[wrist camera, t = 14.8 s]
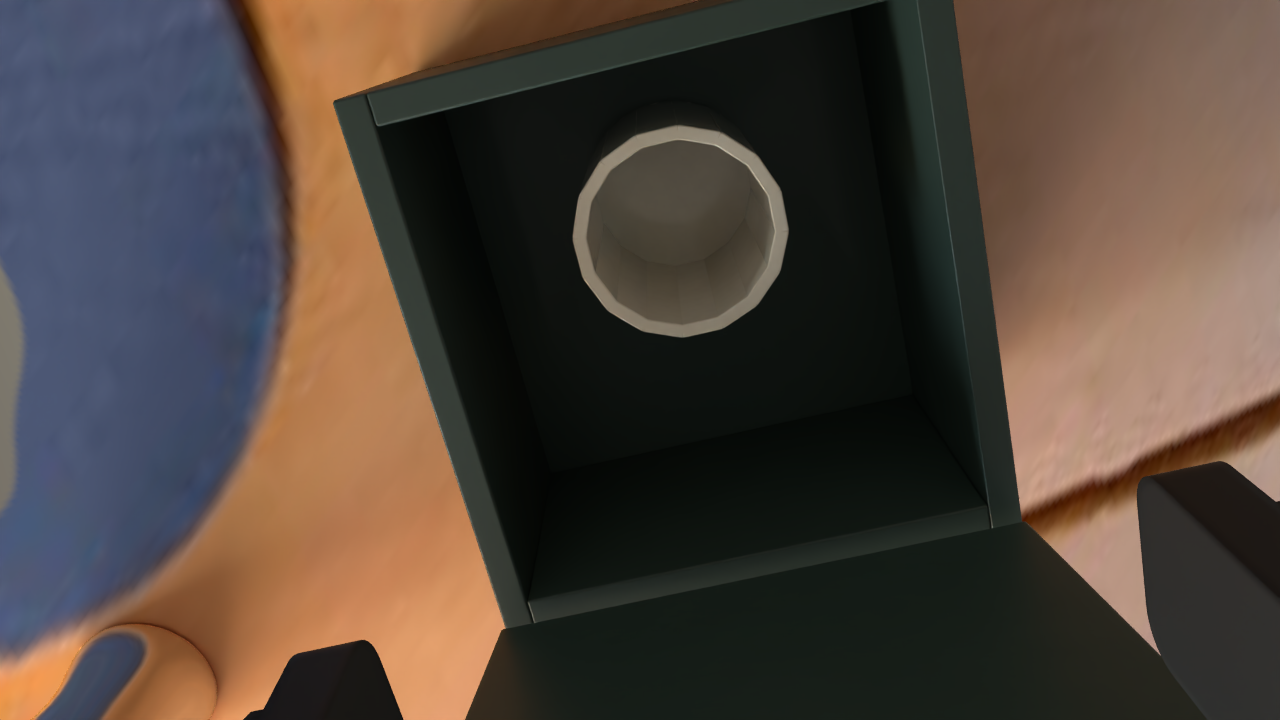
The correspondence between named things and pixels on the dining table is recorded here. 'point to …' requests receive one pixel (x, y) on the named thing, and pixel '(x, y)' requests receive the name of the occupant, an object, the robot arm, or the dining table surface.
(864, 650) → the lid
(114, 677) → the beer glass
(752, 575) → the open lidded box
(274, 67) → the dining table surface
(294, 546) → the dining table surface
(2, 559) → the dining table surface
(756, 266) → the cup
